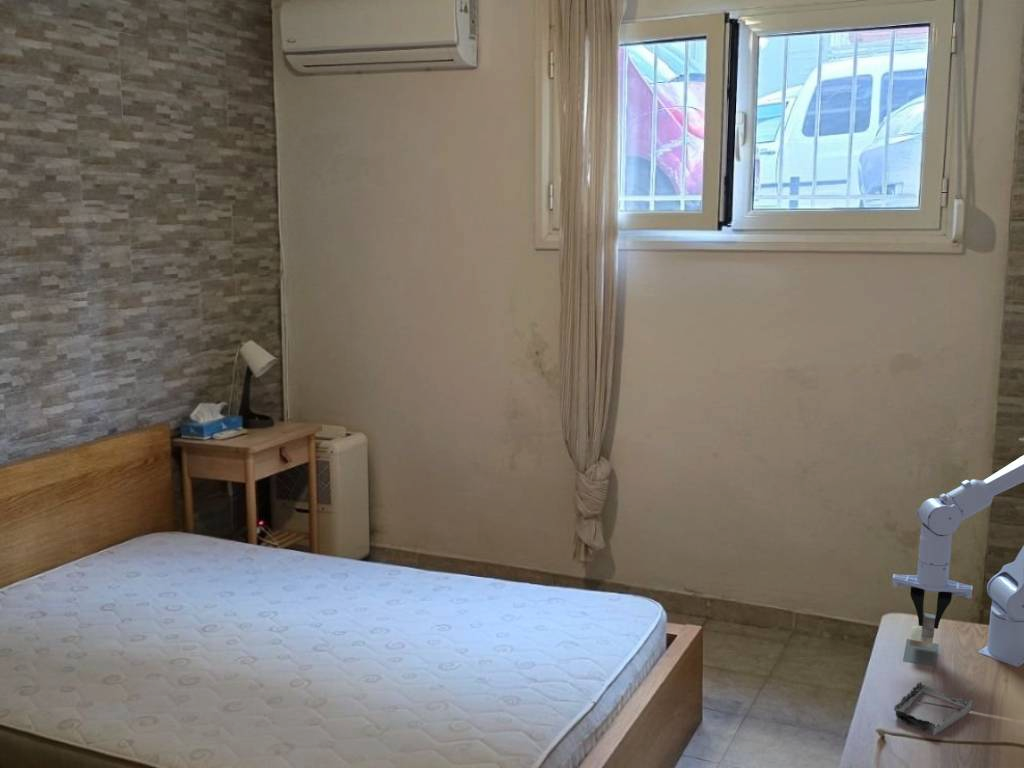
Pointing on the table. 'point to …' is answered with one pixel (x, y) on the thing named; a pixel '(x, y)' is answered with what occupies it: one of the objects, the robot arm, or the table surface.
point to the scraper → (923, 632)
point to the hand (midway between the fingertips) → (928, 625)
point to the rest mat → (921, 654)
